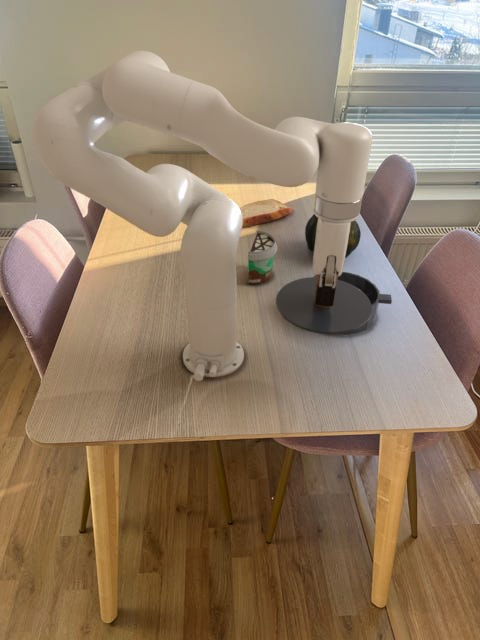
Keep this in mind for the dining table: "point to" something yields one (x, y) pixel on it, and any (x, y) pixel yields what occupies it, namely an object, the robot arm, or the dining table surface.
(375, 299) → the pot
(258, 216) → the bread slice
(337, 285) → the lid
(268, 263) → the food container
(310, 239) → the squash
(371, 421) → the dining table surface
